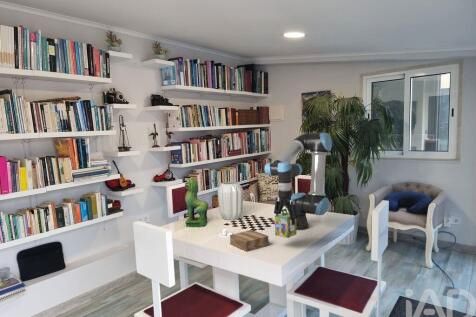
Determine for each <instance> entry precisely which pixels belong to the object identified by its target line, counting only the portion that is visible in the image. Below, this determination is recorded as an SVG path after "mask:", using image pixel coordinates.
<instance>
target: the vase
mask: <svg viewBox="0 0 476 317" xmlns="http://www.w3.org/2000/svg"><path fill="white" fill-rule="evenodd" d="M217 199H218V200H217V201H218V203H217V204H218V210H219V211H218V212H219V214H220V215H221V218H222V219H224V220H225V221H235V220H238V219H239V218H240V217H241V215H242V213H243V205H244V204H243V203H244V189H243V187H242V185H241V184H240V182H237V181H226V182H225V181H224V182H221V183H220V186H219V187H218V188H217Z"/></svg>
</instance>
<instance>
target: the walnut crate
mask: <svg viewBox="0 0 476 317" xmlns="http://www.w3.org/2000/svg"><path fill="white" fill-rule="evenodd" d="M229 245H231V246H232V247H235V248H237V249H239V250H242V251H243V250H244V251H243V252H246V253H248V252H251V251H255V250H258V249H261V248H265V247H269V246H270V243H269V235H267V234H264V233H261V232H259V231H256V230H252V229H249V230H246V231H240V232H236V233H234V234H232V235H230V236H229Z"/></svg>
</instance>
